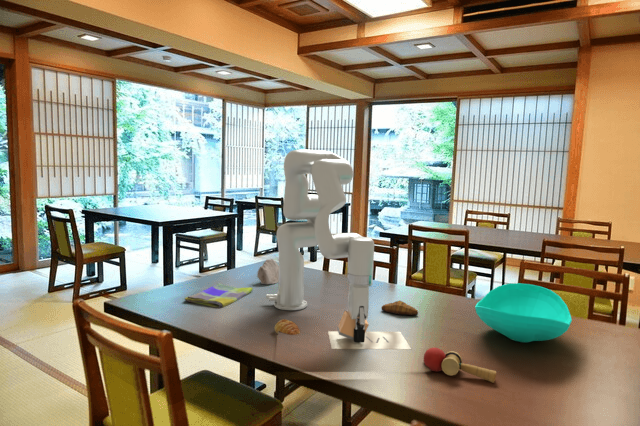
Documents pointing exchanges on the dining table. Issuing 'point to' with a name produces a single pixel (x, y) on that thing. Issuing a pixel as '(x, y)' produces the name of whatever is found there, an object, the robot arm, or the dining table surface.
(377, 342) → the ash board
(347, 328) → the block
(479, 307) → the table top decor
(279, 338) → the dining table surface
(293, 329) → the pastry
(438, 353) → the kendama
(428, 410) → the dining table surface
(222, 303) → the dish towel
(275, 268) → the pumice stone
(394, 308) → the croissant
